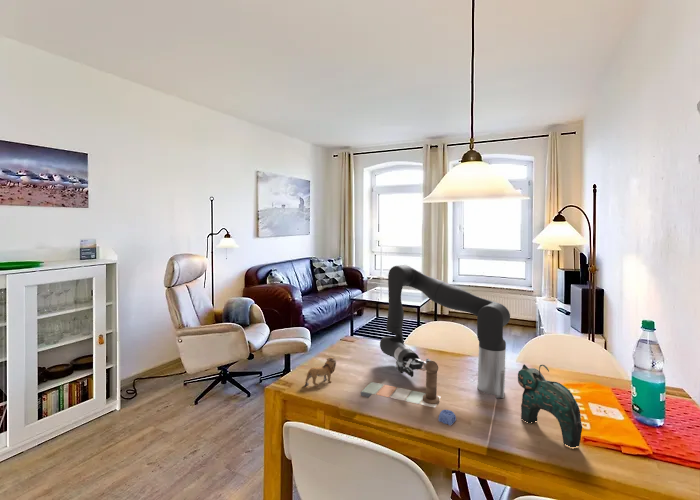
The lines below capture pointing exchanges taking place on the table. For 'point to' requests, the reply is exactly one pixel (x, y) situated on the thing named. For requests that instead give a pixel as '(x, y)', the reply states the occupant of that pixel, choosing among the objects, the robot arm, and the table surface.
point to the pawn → (431, 383)
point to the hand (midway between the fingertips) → (423, 373)
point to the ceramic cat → (550, 403)
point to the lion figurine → (322, 371)
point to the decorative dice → (447, 417)
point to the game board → (395, 393)
